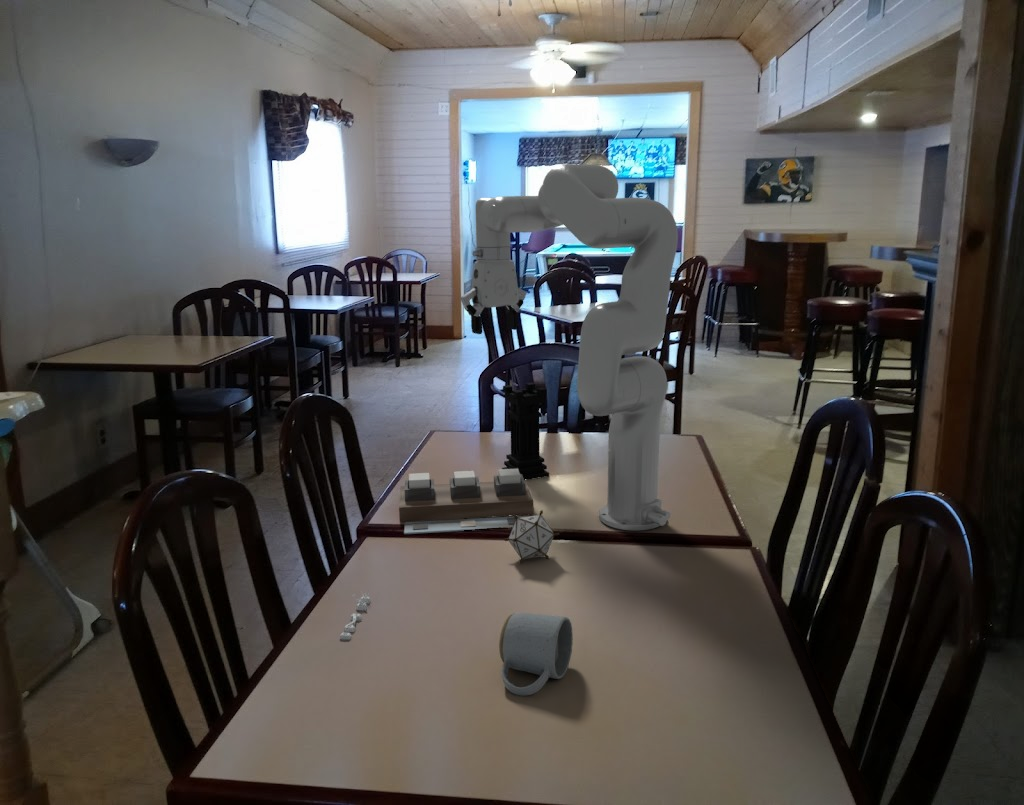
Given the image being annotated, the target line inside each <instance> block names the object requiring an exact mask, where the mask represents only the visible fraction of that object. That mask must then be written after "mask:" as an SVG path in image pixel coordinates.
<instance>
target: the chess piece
mask: <svg viewBox="0 0 1024 805" xmlns="http://www.w3.org/2000/svg"><path fill="white" fill-rule="evenodd" d="M502 392H504V393H505V397H504V398H505V399H504V400H505V401H506V402H508V403H509V404H510V408H509V410H507V414H508V415H509V417H510V454H505V455H506V457H505V458H506V460H504V461H503V465H504V467H501V469H518V470H519V473H520V474H522V476H523V478H524V480H525V479H530V480H533V479H532V478H536V479H539V478H538V477H541V478H545V477H544V476H547V477H550V472H548V470H547V469H548V466H547V464H545V458H544V457H542V456H540V454H541V453H540V418H542V416H543V415H542V414H543V413H542V412H540V404H545V395H547V394H548V393H547V388H545V387H537V388H536V384H535V383H533V382H527V383H526V382H525V388H524V389H523V388H522V389H516V390H515V389H514V390H513V386H512V385H509V384H508V385H507V384H506V385H503V386H502ZM505 466H506V467H505Z"/></svg>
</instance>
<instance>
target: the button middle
mask: <svg viewBox="0 0 1024 805" xmlns="http://www.w3.org/2000/svg"><path fill="white" fill-rule="evenodd" d="M475 477H476V476H475V471H474V470H462V471H453V478H454V483H455V486H472V485H475Z"/></svg>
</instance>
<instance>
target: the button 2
mask: <svg viewBox="0 0 1024 805" xmlns="http://www.w3.org/2000/svg"><path fill="white" fill-rule="evenodd" d="M497 469H498V468H497ZM497 471H498V475H499V484H512V483H520V473H519V470H518V469H502V468H499V469H498V470H497Z"/></svg>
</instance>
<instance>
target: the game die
mask: <svg viewBox="0 0 1024 805" xmlns="http://www.w3.org/2000/svg"><path fill="white" fill-rule="evenodd" d="M542 515H543V509H541V511H539V514H533V515H524V516H525V517H517V516H516V515H515V514H514V516H513V517H515V518H516V520H515V523H514V525H513V528H511V529H510V530H511V531H510V532H509V536H508V537H505V538H504V539H503V541H505V542H509V543H510V545H511V546H512V547H513V549H514V550H515V552H516V553H517V555H518V556H519V558H520V560H519V564H520V565H521V564H522V563H523V561H524V560H528V559H535V558H539V557H545V559H547V560H550V557H549V555H548V551H549V549H550V546H551V545H552V543H553V540H554V538H555V536H559V535H560V533H559V532H557V531H556V532H554V531H553V529H552V527H551V526H549V524H548V522H547V521H546V520H545V518H544V516H542Z"/></svg>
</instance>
